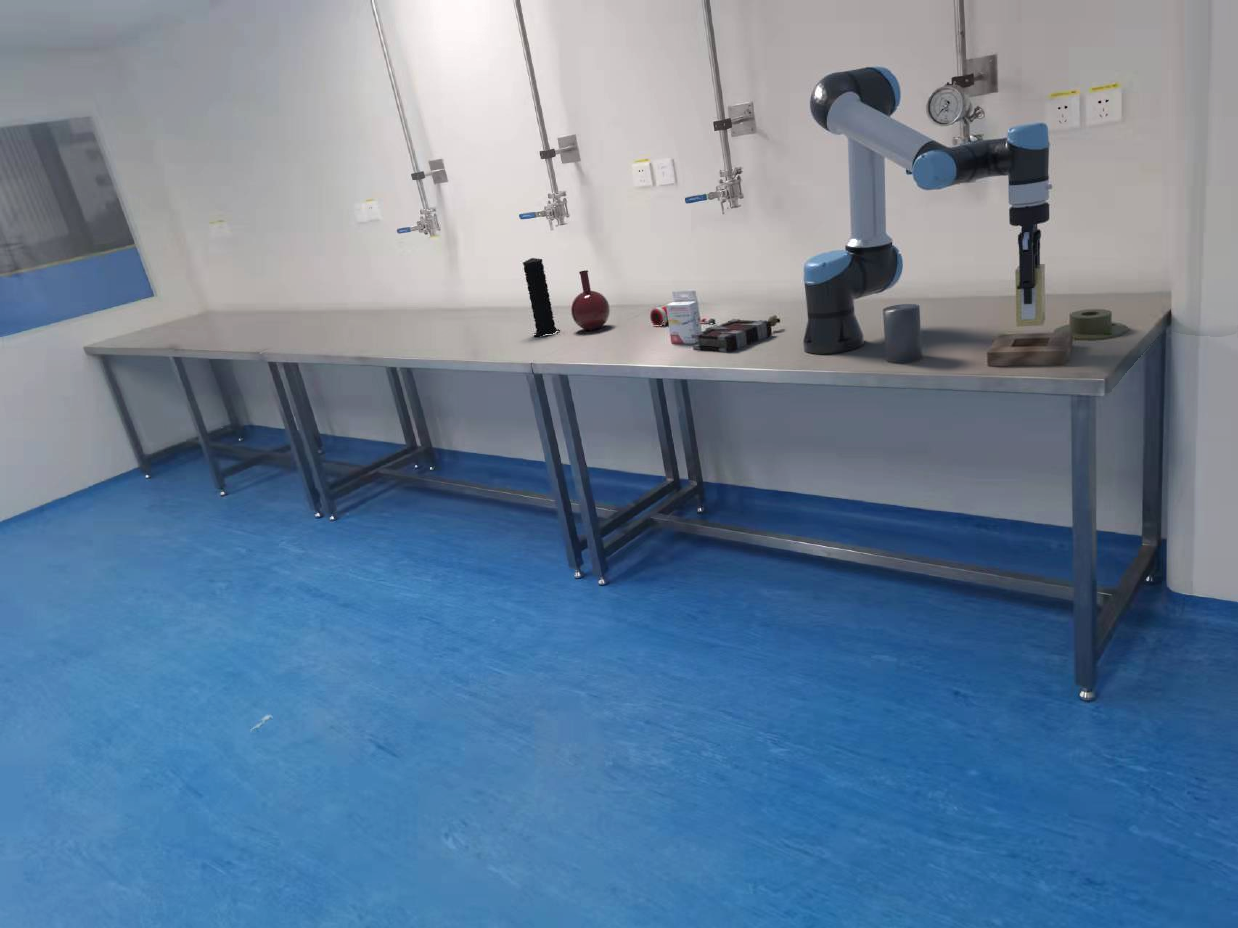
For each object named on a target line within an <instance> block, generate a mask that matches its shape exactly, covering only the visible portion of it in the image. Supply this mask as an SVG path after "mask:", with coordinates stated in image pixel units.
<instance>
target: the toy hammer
mask: <svg viewBox="0 0 1238 928" xmlns="http://www.w3.org/2000/svg"><path fill="white" fill-rule="evenodd" d="M649 317H650V321H651V323H652V325H653V326H654V325H664V324H665V325H667V324H669V323H668V316H667V309H666V305H665V306H663V307H659V306H657V307H654V308H652V309H651V310H650V313H649ZM700 321H701V323H705V324H709V323H714V322H715V323H716V319H714V318H704V317H700ZM665 325H664V326H665Z"/></svg>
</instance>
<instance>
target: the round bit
mask: <svg viewBox="0 0 1238 928" xmlns="http://www.w3.org/2000/svg"><path fill="white" fill-rule="evenodd" d="M920 309H921V307H920V305H919V304H916V303H904V304H903V303H902V304H895V305H890V306H887V307H885V308H883V309H882V316H883V317H882V318H883V319H882V320H883V329H884V330H883V331H884V332H883V333H884V334H883V335H884V345H885V346H884V347H885V362H887V363H889V364H897V365H899V364H900V365H901V364H902V365H903V364H909V363H916V362H918V361H920V360H922V359H923V348H922V330H921V329H922V328H921V310H920Z"/></svg>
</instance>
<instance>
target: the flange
mask: <svg viewBox="0 0 1238 928" xmlns="http://www.w3.org/2000/svg"><path fill="white" fill-rule="evenodd" d="M1112 315H1113V313H1112V311H1111V310H1109V309H1104V308H1102V309H1101V308H1094V309H1093V308H1090V309H1088V308H1087V309H1081V310H1076V311H1073V312H1071V313H1069V324H1065V325H1062V326H1059V327H1056V328H1055V329H1054V330H1053V333H1061V332H1073V339H1074V340H1073V341H1076V340H1088V341H1097V340H1098V341H1100V340H1107V339H1114V338H1117V337H1120V336H1124V335H1125V334H1127V333H1128V332H1129V326H1127V324H1123V323H1121V322H1115V321H1113V320H1112V319H1113V318H1112V317H1113V316H1112Z"/></svg>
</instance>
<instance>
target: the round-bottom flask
mask: <svg viewBox="0 0 1238 928" xmlns="http://www.w3.org/2000/svg"><path fill="white" fill-rule="evenodd" d="M578 274H579V275H580V280H581V287H582V292H581V293H579V294H578V295H577V296H576V297H575V298H574V300H573V301H572V303H571V309H570V311H571V316H572V317H571V318H572V320H573V321H574V323H575V324H576V325H577V326H578V327H580V328H581V329H583V330H587V331H595V330H598V329H600V328H602V327H603V326H605V324H606V323H607V321H608V320H609V318H610V313H611V309H610V303H609V301H608V300H607V298H606V296H604V294H602V293H601V292H598V291H594V290H592V289H591V283H590V279H589V270H586V269H584V270H580V271H579V272H578ZM594 329H595V330H594Z"/></svg>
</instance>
